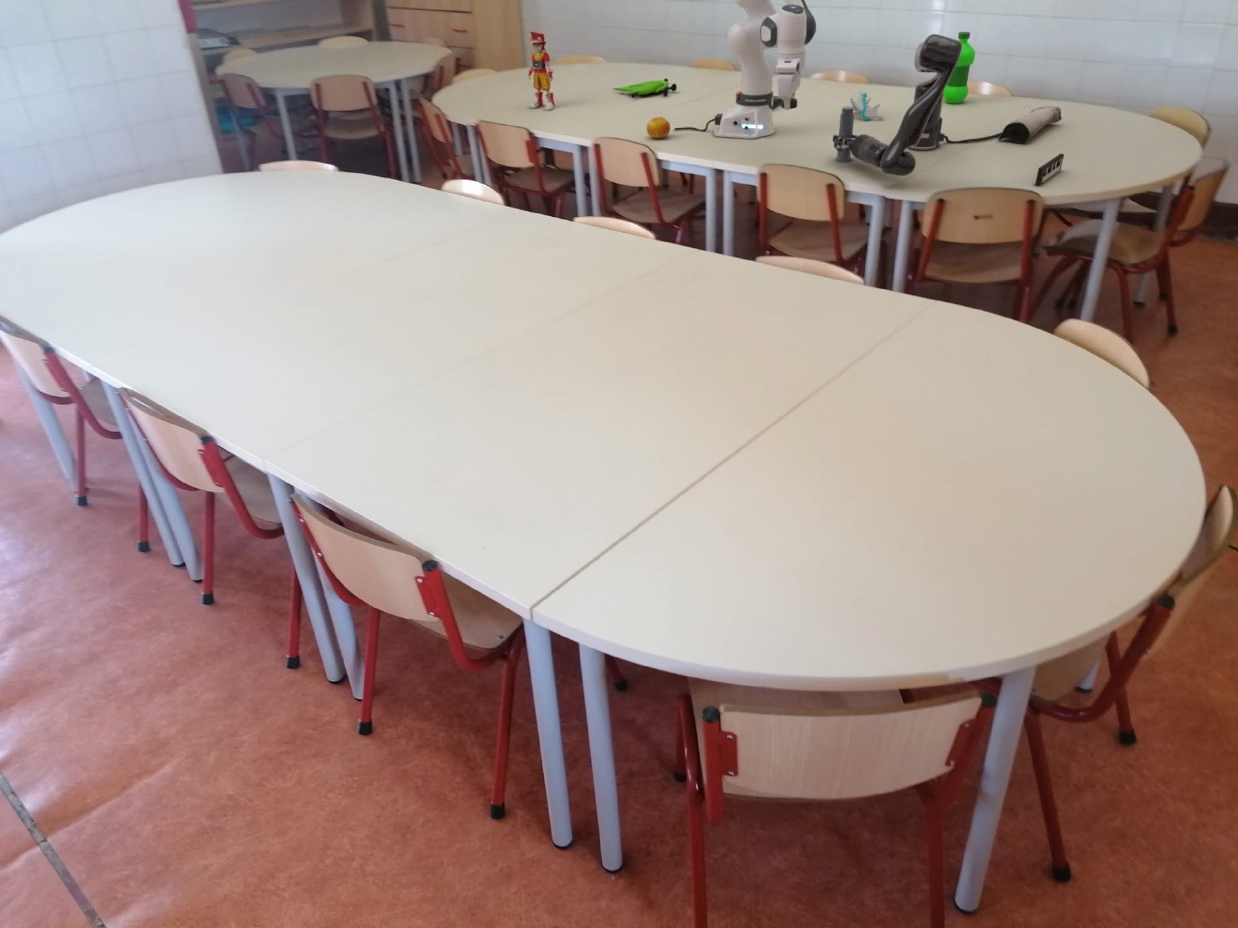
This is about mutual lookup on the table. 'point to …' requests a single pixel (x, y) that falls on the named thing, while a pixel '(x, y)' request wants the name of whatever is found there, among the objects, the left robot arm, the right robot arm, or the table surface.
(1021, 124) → the rolled mat
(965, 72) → the plastic bottle
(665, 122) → the fruit
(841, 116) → the jar
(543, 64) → the toy
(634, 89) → the toy
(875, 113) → the anatomical model
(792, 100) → the lid
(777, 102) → the disk drive
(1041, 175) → the midi keyboard
